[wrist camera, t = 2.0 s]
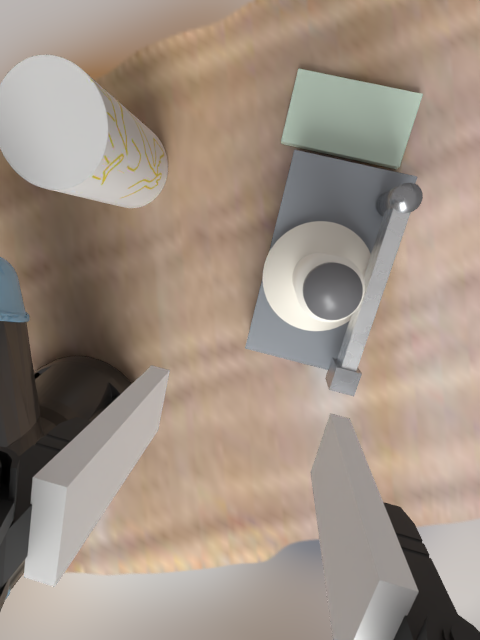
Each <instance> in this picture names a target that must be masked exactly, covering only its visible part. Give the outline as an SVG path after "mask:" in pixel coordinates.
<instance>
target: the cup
mask: <svg viewBox="0 0 480 640" xmlns="http://www.w3.org/2000/svg"><path fill="white" fill-rule="evenodd" d="M0 149H1V151H2V153H3V155H4V157H5V158H6V160H7V161H8V163H9V164H10V166H11V167H12V168H13V169H14V170H15V171H16V172H17V173H18V174H19V175H20V176H21V177H22V178H24V179H25V180H27V181H28V182H30V183H32V184H33V185H36V186H38V187H41V188H44V189H49V190H53V191H57V192H61V193H65V194H70V195H74V196H78V197H82V198H87V199H91V200H95V201H99V202H103V203H108V204H112V205H116V206H120V207H125V208H138V207H142V206H145V205H147V204H149V203H150V202H152V201H153V200H154V199H155V198H156V197H157V196H158V195H159V194H160V192H161V191H162V189H163V187H164V185H165V182H166V179H167V174H168V161H167V155H166V152H165V149H164V147H163V145H162V143H161V141H160V140H159V138H158V137H157V136H156V135H155V134H154V133H153V132H152V131H151V130H150V129H149V128H148V127H147V126H146V125H144V124H143V123H142V122H141V121H140V120H139V119H138V118H136V117H135V116H134V115H133V114H132V113H131V112H130V111H129V110H127V109H126V108H125V107H124V106H123V105H122V104H121V103H119V102H118V101H117V100H116V99H115V98H114V97H113V96H112V95H110V94H109V93H108V92H107V91H106V90H105V89H104V88H102V87H101V86H100V85H99V84H98V83H97V82H96V81H95V80H93V79H92V78H91V77H90V76H89V75H88V74H86V73H85V72H84V71H83V70H82V69H81V68H80V67H78V66H77V65H75V64H74V63H72V62H71V61H69V60H67V59H64V58H62V57H58V56H54V55H36V56H32V57H29V58H27V59H25V60H23V61H21V62H19V63H18V64H16V65H15V66H14V67H13V68H12V69H11V70H10V71H9V72H8V73H7V75H6V76H5V77H4V79H3V81H2V82H1V84H0Z"/></svg>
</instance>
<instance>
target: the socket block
mask: <svg viewBox="0 0 480 640" xmlns="http://www.w3.org/2000/svg"><path fill="white" fill-rule="evenodd" d="M416 180H417V177H416V176H412V175H407V174H403V173H398V172H393V171H389V170H384V169H380V168H375V167H371V166H366V165H362V164H357V163H353V162H348V161H344V160H339V159H335V158H330V157H326V156H321V155H316V154H312V153H307V152H303V151H298V150H294V154H293V158H292V162H291V166H290V170H289V174H288V178H287V182H286V186H285V190H284V194H283V198H282V202H281V206H280V210H279V214H278V218H277V222H276V226H275V230H274V234H273V238H272V242H271V246H270V250H271V248H272V247H273V245H274V244H275V243H276V242H277V240H278V239H279V238H280V237H282V236H283V235H284V234H285V233H286V232H288V231H289V230H291V229H293V228H295V227H296V226H299V225H302V224H304V223H309V222H315V221H327V222H333V223H337V224H340V225H342V226H345V227H347V228H349V229H350V230H352V231H353V232H354V233H356V234H357V235H358V236H359V237H360V238H361V239H362V240H363V242H364V243H365V244H366V246H367V247H368V249H369V251H370V254H371V253H372V250H373V247H374V244H375V241H376V237H377V234H378V231H379V228H380V225H381V222H382V219H383V216H381V215H380V214H379V213H378V212H377V209H376V203H377V200H378V198H379V197H380V196H381V195H382V194H383V193H385V192H387V191H389V190H391V189H393V188H395V187H397V186H399V185H401V184H404V183H414V184H415V182H416ZM270 250H269V252H270ZM348 324H349V321H348V322H347V323H345V324H343V325H341V326H339V327H337V328H334V329H330V330H325V331H308V330H303V329H299V328H296V327H294V326H292V325H290V324H288V323H287V322H285V321H284V320H282V319H281V318H280V317H279V316H278V315H277V314H276V313H275V312H274V310H273V309H272V308H271V306H270V304H269V302H268V301H267V298H266V295H265V292H264V288H263V278H262V283H261V287H260V291H259V295H258V299H257V303H256V307H255V311H254V315H253V319H252V323H251V327H250V331H249V335H248V339H247V343H246V347H245V348H246V349H250V350H253V351H257V352H261V353H265V354H269V355H273V356H276V357H280V358H284V359H288V360H292V361H296V362H299V363H303V364H307V365H311V366H315V367H319V368H323V369H326V370H328V369H329V366H330V362H331V359H332V357H333V358H338V355H339V352H340V349H341V346H342V343H343V339H344V336H345V333H346V330H347V327H348Z"/></svg>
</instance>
